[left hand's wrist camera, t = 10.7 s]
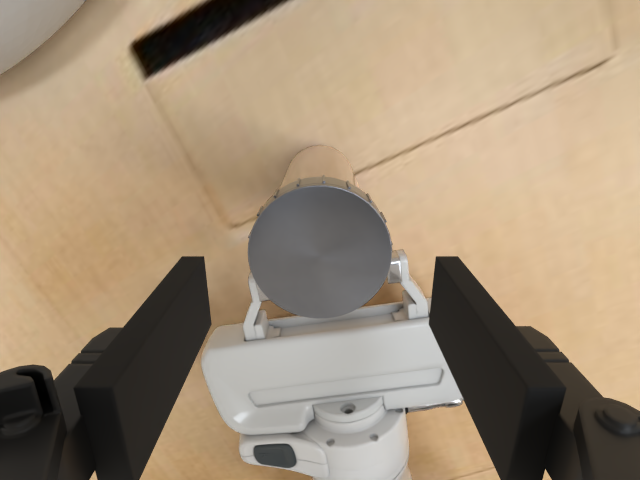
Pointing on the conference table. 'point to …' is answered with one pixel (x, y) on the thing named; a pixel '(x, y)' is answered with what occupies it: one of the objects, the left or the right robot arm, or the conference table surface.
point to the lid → (320, 248)
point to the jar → (319, 165)
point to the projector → (30, 26)
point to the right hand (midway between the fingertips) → (326, 263)
